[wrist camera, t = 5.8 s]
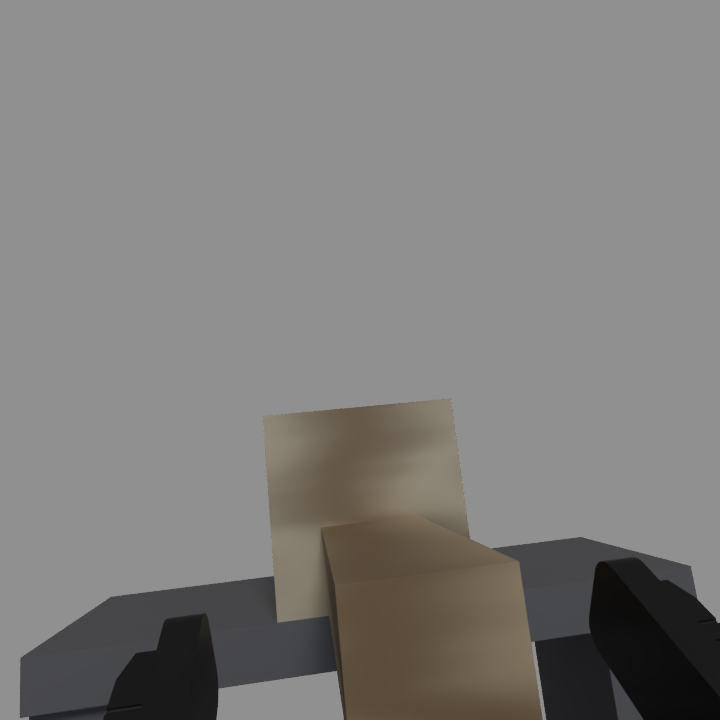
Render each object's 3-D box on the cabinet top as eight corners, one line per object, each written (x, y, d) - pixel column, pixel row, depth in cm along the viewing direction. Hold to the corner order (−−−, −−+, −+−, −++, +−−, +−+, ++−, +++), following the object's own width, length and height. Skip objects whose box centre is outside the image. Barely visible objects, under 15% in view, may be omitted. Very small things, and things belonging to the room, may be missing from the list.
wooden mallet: (432, 560, 22) (414, 415, 23) (635, 716, 8) (568, 344, 10) (285, 579, 21) (274, 428, 23) (247, 781, 8) (224, 372, 9)
